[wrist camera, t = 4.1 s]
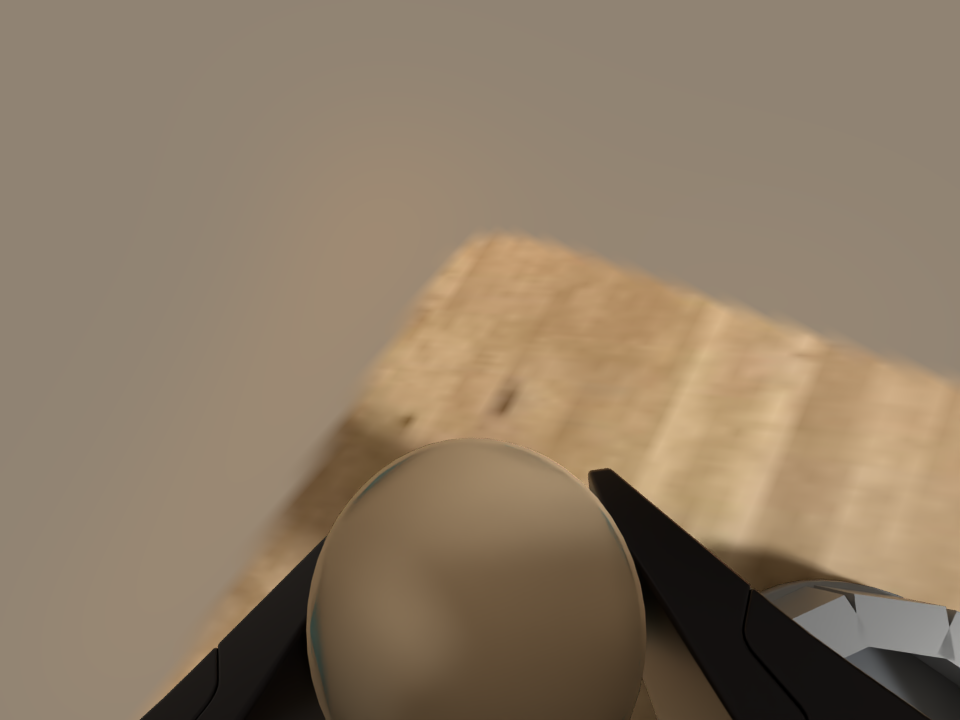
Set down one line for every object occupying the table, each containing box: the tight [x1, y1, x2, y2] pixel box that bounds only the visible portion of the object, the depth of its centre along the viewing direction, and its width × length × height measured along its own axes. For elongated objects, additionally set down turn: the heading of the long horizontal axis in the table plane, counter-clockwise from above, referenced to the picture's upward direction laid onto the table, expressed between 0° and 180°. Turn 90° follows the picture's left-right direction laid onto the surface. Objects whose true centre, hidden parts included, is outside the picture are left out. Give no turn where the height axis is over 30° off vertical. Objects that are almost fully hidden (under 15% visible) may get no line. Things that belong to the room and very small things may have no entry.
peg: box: [306, 438, 646, 720], centre depth 10 cm, size 4×4×10 cm
